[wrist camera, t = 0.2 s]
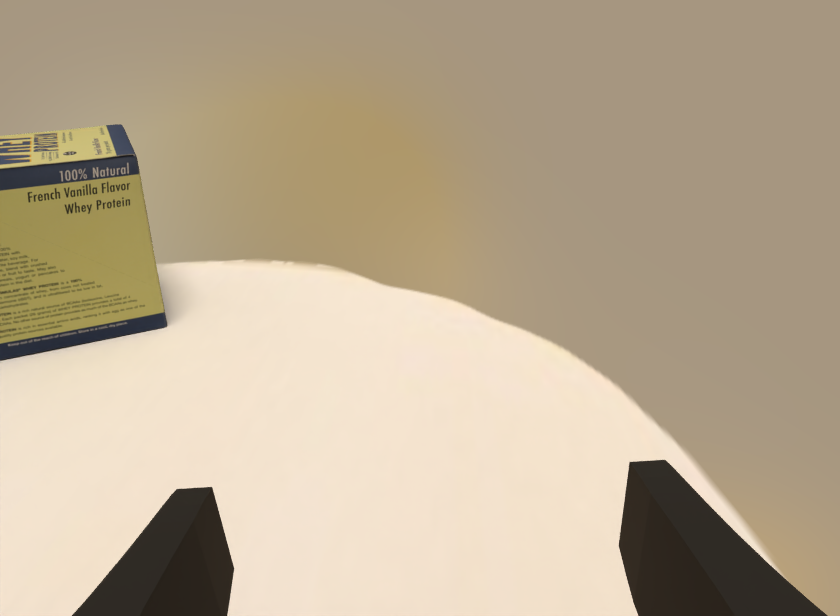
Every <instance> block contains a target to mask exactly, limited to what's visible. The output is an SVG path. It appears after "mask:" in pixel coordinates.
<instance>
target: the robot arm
mask: <svg viewBox="0 0 840 616" xmlns="http://www.w3.org/2000/svg"><path fill="white" fill-rule="evenodd" d="M619 548H620V552H621V556H622V560H623V564H624V568H625V572H626V576H627V580H628V584H629V587H630V591H631V595H632V598H633V602H634V605H635V608H636V610H637V613H638V616H827V615H826V614H825V613H824V612H822V611H821V610H820V609H819V608H818V607H816V606H815V605H814V604H813V603H812V602H811V601H810V600H808V599H807V598H806V597H805V596H804V595H803V594H802V593H800V592H799V591H798V590H797V589H796V588H795V587H794V586H792V585H791V584H790V583H789V582H788V581H787V580H786V579H785V578H783V577H782V576H781V575H780V574H779V573H778V572H777V571H776V570H775V569H774V568H773V567H772V566H770V565H769V564H768V563H767V562H766V561H765V560H764V559H763V558H762V557H761V556H760V555H759V554H758V553H757V552H756V551H755V550H754V549H753V548H752V547H751V546H749V545H748V544H747V543H746V542H745V541H744V540H743V539H742V538H741V537H740V536H739V535H738V534H737V533H736V532H735V531H734V530H733V529H732V528H731V527H730V526H729V525H728V524H727V523H726V522H725V521H724V520H723V519H722V518H721V517H720V516H719V515H718V514H717V513H716V512H715V511H714V510H713V509H712V508H711V507H710V506H709V505H708V504H707V503H706V502H705V501H704V499H703V498H702V497H701V496H700V495H699V494H698V493H697V492H696V491H695V490H694V489H693V488H692V487H691V486H690V485H689V484H688V483H687V482H686V481H685V480H684V478H683V477H682V476H681V475H680V474H679V473H678V472H677V471H676V470H675V469H674V468H673V467H672V466H671V465H670V464H669V463H668V462H667V461H666V460H656V461H639V462H630V464H629V471H628V479H627V487H626V494H625V502H624V510H623V517H622V525H621V532H620V540H619ZM233 572H234V567H233V563H232V559H231V555H230V552H229V548H228V544H227V541H226V537H225V533H224V529H223V526H222V522H221V518H220V515H219V511H218V507H217V504H216V500H215V496H214V492H213V489H212V487H205V488H188V489H177V490H176V491H175V492H174V493H173V494H172V495H171V496H170V497H169V499H168V500H167V501H166V502H165V504H164V505H163V506H162V507H161V509H160V510H159V511H158V513H157V514H156V515H155V516H154V518H153V519H152V520H151V521H150V523H149V524H148V525H147V527H146V528H145V529H144V530H143V532H142V533H141V534H140V535H139V537H138V538H137V539H136V540H135V542H134V543H133V544H132V545H131V547H130V548H129V549H128V550H127V552H126V553H125V554H124V555H123V557H122V558H121V559H120V560H119V561H118V563H117V564H116V565H115V566H114V567H113V569H112V570H111V571H110V572H109V573H108V575H107V576H106V577H105V578H104V579H103V581H102V582H101V583H100V584H99V585H98V586H97V588H96V589H95V590H94V591H93V592H92V594H91V595H90V596H89V597H88V598H87V599H86V601H85V602H84V603H83V604H82V605H81V606H80V607H79V608H78V609H77V611H76V612H75V613H74V614H73V615H72V616H227V613H228V607H229V600H230V593H231V586H232V579H233Z"/></svg>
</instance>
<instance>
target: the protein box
mask: <svg viewBox="0 0 840 616" xmlns="http://www.w3.org/2000/svg"><path fill="white" fill-rule="evenodd" d="M166 326H167V322H166V316H165V310H164V305H163V300H162V295H161V289H160V284H159V278H158V273H157V267H156V262H155V257H154V251H153V246H152V240H151V234H150V229H149V223H148V217H147V211H146V205H145V200H144V194H143V189H142V183H141V177H140V172H139V166H138V161H137V157H136V154H135V152H134V150H133V148H132V145H131V143H130V141H129V139H128V137H127V135H126V132H125V130H124V128H123V126H122V125H106V126H97V127H89V128H80V129H70V130H59V131H49V132H38V133H28V134H18V135H6V136H0V360H3V359H8V358H13V357H18V356H23V355H28V354H33V353H37V352H42V351H47V350H52V349H57V348H63V347H68V346H73V345H78V344H83V343H88V342H93V341H98V340H103V339H108V338H114V337H119V336H124V335H129V334H133V333H138V332H144V331H149V330H154V329H159V328H164V327H166Z"/></svg>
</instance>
